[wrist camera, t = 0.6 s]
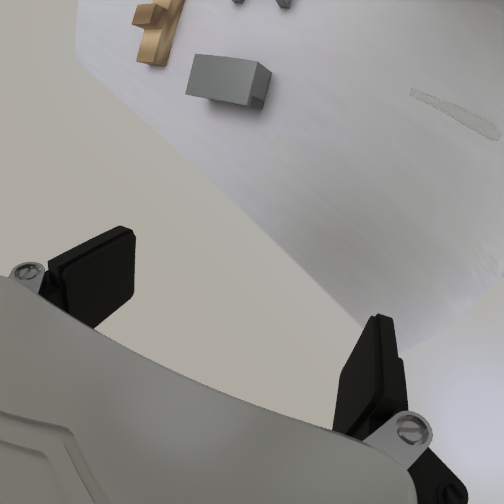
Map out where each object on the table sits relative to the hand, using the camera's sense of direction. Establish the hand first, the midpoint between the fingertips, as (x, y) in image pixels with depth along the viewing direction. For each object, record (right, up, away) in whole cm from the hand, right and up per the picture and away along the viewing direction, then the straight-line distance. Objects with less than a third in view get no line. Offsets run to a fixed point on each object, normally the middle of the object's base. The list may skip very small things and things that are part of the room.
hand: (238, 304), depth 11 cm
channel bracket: (-1, +23, +24) cm, 33 cm away
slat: (-11, +35, +22) cm, 43 cm away
